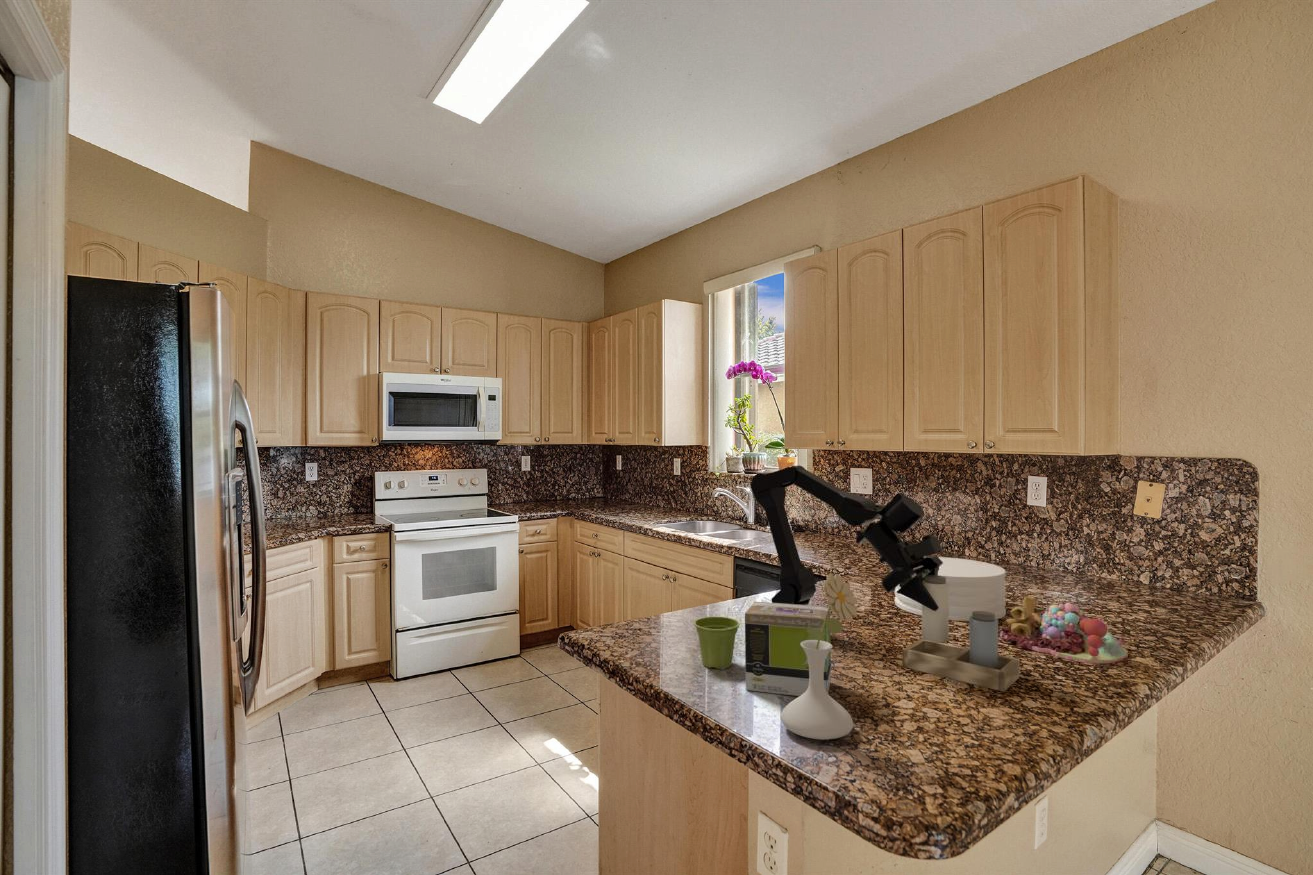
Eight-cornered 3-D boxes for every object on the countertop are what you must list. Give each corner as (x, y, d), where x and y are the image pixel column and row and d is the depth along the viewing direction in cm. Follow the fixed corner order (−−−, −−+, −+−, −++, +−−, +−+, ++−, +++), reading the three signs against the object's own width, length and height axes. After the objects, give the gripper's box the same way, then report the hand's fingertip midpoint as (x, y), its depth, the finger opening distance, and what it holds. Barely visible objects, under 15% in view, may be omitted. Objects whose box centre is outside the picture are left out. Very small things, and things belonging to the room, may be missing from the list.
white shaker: (937, 643, 128) (937, 580, 128) (916, 636, 133) (916, 575, 133) (953, 639, 131) (954, 578, 131) (933, 632, 135) (933, 573, 135)
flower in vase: (809, 753, 96) (809, 585, 96) (766, 722, 106) (766, 571, 106) (877, 736, 101) (877, 578, 101) (830, 708, 112) (830, 564, 112)
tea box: (831, 681, 124) (831, 605, 124) (827, 702, 115) (827, 619, 115) (753, 672, 129) (753, 598, 129) (744, 691, 119) (743, 611, 119)
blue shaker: (981, 683, 123) (980, 618, 123) (963, 673, 128) (963, 611, 128) (1004, 681, 124) (1003, 616, 124) (986, 672, 129) (985, 609, 129)
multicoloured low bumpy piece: (986, 644, 147) (986, 604, 147) (1014, 622, 164) (1014, 586, 164) (1120, 671, 130) (1120, 625, 130) (1135, 643, 147) (1135, 603, 147)
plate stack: (922, 590, 198) (922, 553, 198) (1021, 608, 178) (1021, 566, 178) (876, 606, 180) (876, 565, 180) (981, 628, 159) (981, 582, 159)
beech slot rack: (902, 666, 132) (902, 649, 132) (921, 654, 139) (921, 638, 139) (1004, 691, 119) (1004, 672, 119) (1019, 677, 126) (1019, 659, 126)
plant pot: (709, 675, 127) (709, 631, 127) (685, 660, 136) (685, 619, 136) (748, 667, 132) (748, 625, 132) (723, 653, 140) (723, 614, 140)
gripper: (896, 527, 128) (954, 591, 120) (933, 518, 141) (987, 576, 134) (859, 561, 133) (912, 625, 126) (898, 549, 147) (948, 607, 139)
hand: (941, 607), depth 131 cm, fingers closed on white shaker, 5 cm apart
